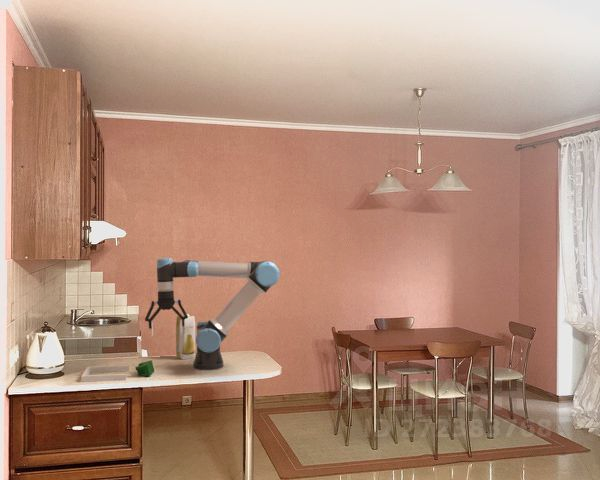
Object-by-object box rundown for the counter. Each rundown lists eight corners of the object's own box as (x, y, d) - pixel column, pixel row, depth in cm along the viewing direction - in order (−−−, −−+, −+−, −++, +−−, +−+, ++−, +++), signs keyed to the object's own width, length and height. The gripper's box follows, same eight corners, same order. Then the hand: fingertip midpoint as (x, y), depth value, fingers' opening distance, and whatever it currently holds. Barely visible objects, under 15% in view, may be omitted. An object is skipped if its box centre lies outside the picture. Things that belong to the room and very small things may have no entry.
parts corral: (128, 370, 306) (128, 365, 306) (125, 379, 286) (125, 374, 286) (87, 371, 302) (87, 366, 302) (81, 381, 282) (81, 376, 282)
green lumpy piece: (143, 382, 300) (140, 363, 304) (155, 378, 300) (152, 360, 304) (136, 377, 289) (133, 359, 292) (148, 374, 289) (145, 355, 293)
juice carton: (181, 360, 330) (181, 315, 329) (174, 358, 336) (174, 313, 336) (196, 358, 336) (196, 313, 335) (189, 355, 342) (189, 312, 342)
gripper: (191, 288, 305) (192, 331, 305) (138, 291, 298) (140, 335, 298) (192, 289, 298) (194, 333, 298) (139, 292, 291) (140, 337, 291)
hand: (167, 334), depth 298 cm, fingers open, 13 cm apart
